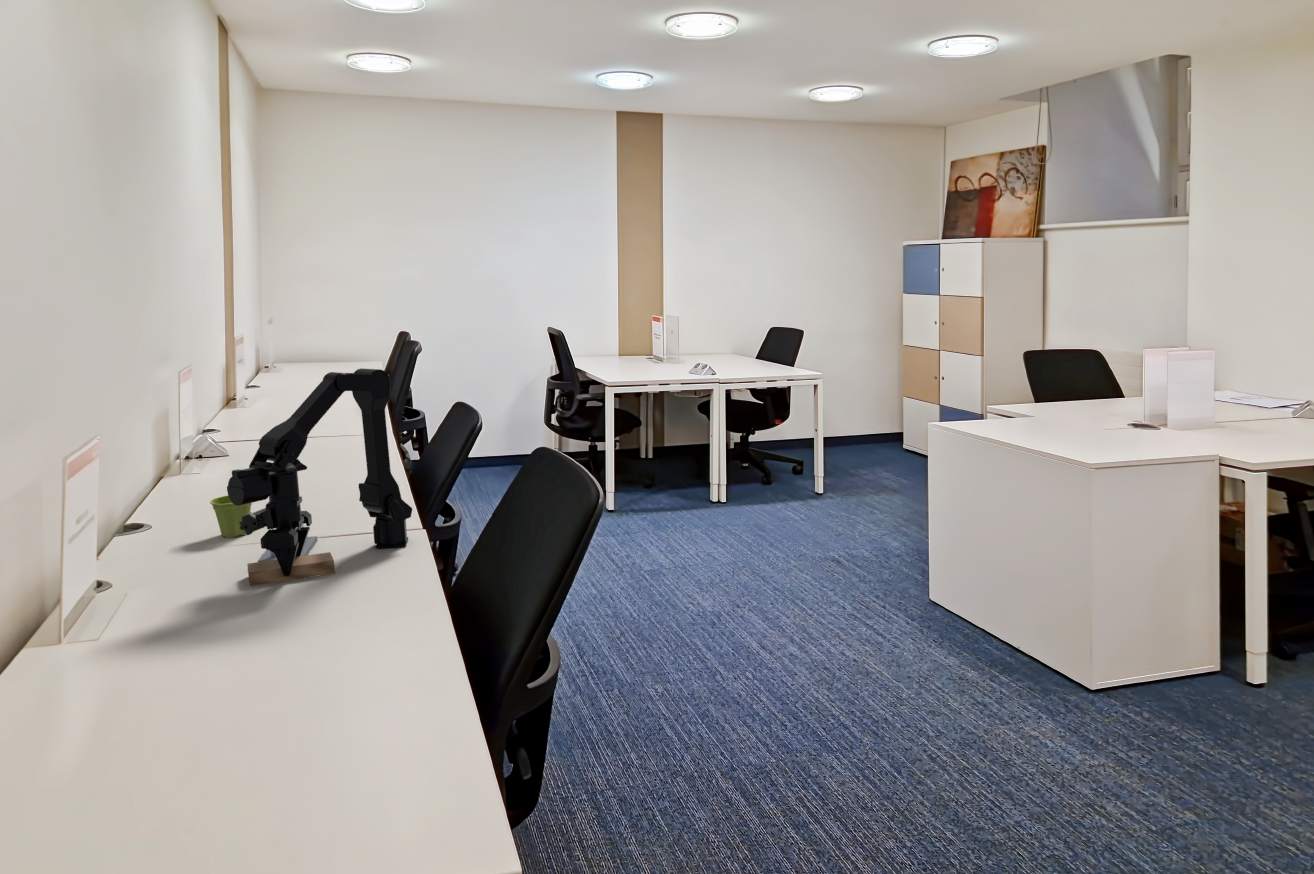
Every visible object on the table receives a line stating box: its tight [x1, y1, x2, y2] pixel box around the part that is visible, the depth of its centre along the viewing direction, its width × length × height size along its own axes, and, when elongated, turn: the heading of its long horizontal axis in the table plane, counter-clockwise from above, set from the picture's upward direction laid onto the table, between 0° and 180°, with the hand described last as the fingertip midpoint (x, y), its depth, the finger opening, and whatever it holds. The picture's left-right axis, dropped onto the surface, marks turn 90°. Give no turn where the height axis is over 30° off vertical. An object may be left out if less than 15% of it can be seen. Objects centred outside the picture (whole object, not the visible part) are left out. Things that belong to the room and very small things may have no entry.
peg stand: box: [257, 523, 318, 562], centre depth 208 cm, size 17×9×5 cm, turn 9°
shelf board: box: [247, 551, 336, 587], centre depth 192 cm, size 16×6×3 cm, turn 115°
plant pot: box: [209, 495, 253, 538], centre depth 224 cm, size 9×9×9 cm
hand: (291, 569), depth 192 cm, fingers open, 7 cm apart
